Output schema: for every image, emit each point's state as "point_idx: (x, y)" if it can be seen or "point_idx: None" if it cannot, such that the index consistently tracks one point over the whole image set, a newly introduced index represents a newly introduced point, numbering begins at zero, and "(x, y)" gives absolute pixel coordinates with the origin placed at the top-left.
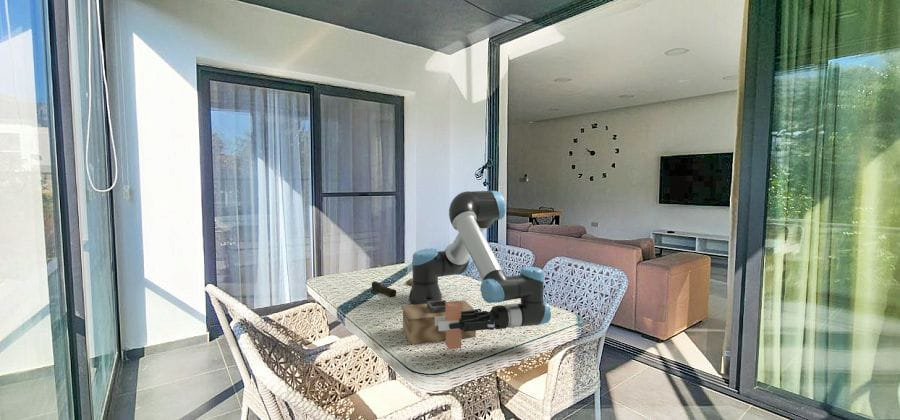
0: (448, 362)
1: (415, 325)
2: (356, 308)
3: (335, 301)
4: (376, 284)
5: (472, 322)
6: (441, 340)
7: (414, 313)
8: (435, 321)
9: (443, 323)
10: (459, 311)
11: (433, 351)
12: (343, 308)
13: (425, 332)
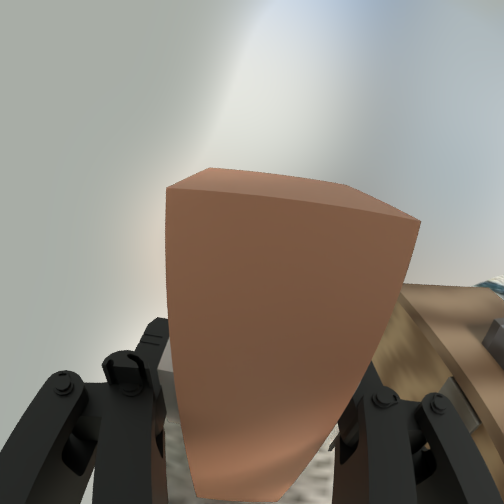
0: (175, 444)
1: (398, 324)
2: (498, 295)
3: (500, 280)
4: None
5: (26, 454)
6: None
7: (453, 302)
8: None
9: None
10: (174, 294)
11: None
12: (488, 284)
13: (401, 378)
